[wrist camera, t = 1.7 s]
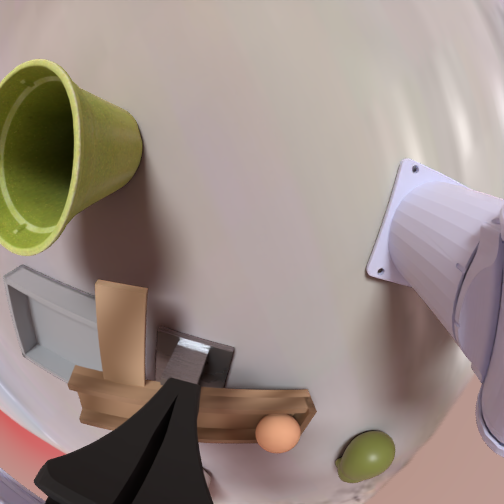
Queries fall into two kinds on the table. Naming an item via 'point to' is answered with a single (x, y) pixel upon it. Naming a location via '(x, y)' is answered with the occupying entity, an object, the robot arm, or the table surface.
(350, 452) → the pear
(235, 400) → the plank
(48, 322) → the tray
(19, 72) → the plant pot
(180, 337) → the fulcrum
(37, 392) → the table surface
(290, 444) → the ball
